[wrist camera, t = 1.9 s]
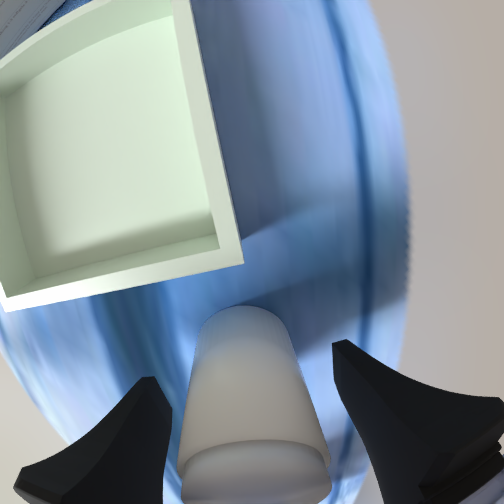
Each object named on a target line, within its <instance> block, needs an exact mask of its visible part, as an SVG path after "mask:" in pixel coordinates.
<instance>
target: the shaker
mask: <svg viewBox="0 0 504 504" xmlns="http://www.w3.org/2000/svg"><path fill="white" fill-rule="evenodd" d="M330 460H331V458H330V453H329V450H328V447H327V444H326V441H325V438H324V435H323V433H322V430H321V427H320V424H319V421H318V418H317V415H316V412H315V409H314V406H313V403H312V400H311V397H310V394H309V392H308V389H307V386H306V383H305V380H304V377H303V374H302V371H301V368H300V365H299V363H298V360H297V357H296V354H295V351H294V348H293V345H292V342H291V340H290V337H289V334H288V331H287V329H286V327H285V325H284V324H283V322H282V321H281V320H280V319H279V318H278V317H277V316H276V315H274V314H273V313H271V312H269V311H267V310H265V309H262V308H259V307H255V306H247V305H243V306H233V307H229V308H226V309H223V310H221V311H219V312H217V313H215V314H214V315H212V316H211V317H210V318H209V319H208V320H206V322H205V323H204V324H203V325H202V327H201V329H200V331H199V334H198V338H197V343H196V348H195V354H194V359H193V365H192V370H191V376H190V382H189V388H188V394H187V400H186V406H185V412H184V419H183V425H182V432H181V439H180V446H179V453H178V460H177V472H178V474H179V476H180V477H181V479H182V490H181V500H182V501H183V503H184V504H318V503H319V502H321V501H322V500H323V499H324V498H326V497H327V496H328V495H329V493H330V492H331V489H332V484H331V481H330V477H329V474H328V471H327V468H328V467H329V464H330Z"/></svg>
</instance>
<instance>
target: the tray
mask: <svg viewBox="0 0 504 504" xmlns="http://www.w3.org/2000/svg"><path fill="white" fill-rule="evenodd" d="M240 264H244V257H243V250H242V242H241V237H240V233H239V228H238V223H237V219H236V214H235V210H234V205H233V201H232V196H231V191H230V187H229V182H228V178H227V173H226V168H225V164H224V159H223V154H222V150H221V145H220V140H219V135H218V131H217V126H216V121H215V117H214V112H213V107H212V102H211V97H210V93H209V88H208V83H207V78H206V73H205V68H204V64H203V59H202V54H201V49H200V44H199V39H198V34H197V29H196V24H195V19H194V14H193V9H192V4H191V0H93V1H91V2H89V3H87V4H85V5H83V6H81V7H79V8H77V9H75V10H73V11H71V12H69V13H68V14H66V15H64V16H62V17H61V18H59V19H57V20H56V21H54V22H52V23H51V24H49V25H47V26H46V27H44V28H43V29H41V30H40V31H38V32H37V33H35V34H34V35H32V36H31V37H29V38H28V39H27V40H25V41H24V42H23V43H21V44H20V45H19V46H17V47H16V48H15V49H13V50H12V51H11V52H10V53H8V54H7V55H6V56H5V57H3V58H2V59H1V60H0V301H1V303H2V305H3V308H4V310H5V312H8V311H14V310H19V309H24V308H29V307H35V306H40V305H45V304H50V303H55V302H60V301H65V300H71V299H76V298H81V297H86V296H91V295H96V294H101V293H106V292H111V291H116V290H120V289H125V288H130V287H135V286H140V285H145V284H150V283H155V282H159V281H164V280H169V279H174V278H179V277H183V276H188V275H193V274H198V273H202V272H207V271H212V270H216V269H221V268H226V267H230V266H235V265H240Z"/></svg>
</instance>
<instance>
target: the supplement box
mask: <svg viewBox="0 0 504 504" xmlns="http://www.w3.org/2000/svg"><path fill="white" fill-rule="evenodd" d="M65 1H66V0H0V60H1V59H2V58H3V57H5V56H6V55H7V54H8V53H10V52H11V51H12V50H13V49H15V48H16V47H17V46H19V45H20V44H21V43H23V42H24V41H25V40H27V39H28V38H29V37H31V36H32V35H34V34H35V33H36V32H37V30H38V29H39V28H40V27H41V26H42V25H43V24H44V22H45V21H46V20H47V19H48V18H49V17H50V16H51V15H52V14H53V13H54V12H55V11H56V10H57V9H58V8H59V7H60V6H61V5H62V4H63V3H64V2H65Z"/></svg>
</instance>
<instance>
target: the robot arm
mask: <svg viewBox="0 0 504 504" xmlns="http://www.w3.org/2000/svg"><path fill="white" fill-rule="evenodd" d="M332 354H333V373H334V382H335V384H336V387H337V390H338V393H339V395H340V398H341V400H342V402H343V404H344V406H345V408H346V410H347V412H348V414H349V416H350V418H351V419H352V421H353V423H354V425H355V427H356V429H357V431H358V433H359V435H360V436H361V438H362V440H363V443H364V445H365V447H366V450H367V452H368V455H369V458H370V460H371V463H372V466H373V469H374V472H375V475H376V478H377V481H378V484H379V488H380V491H381V494H382V498H383V501H384V504H504V454H503V455H501V453H500V452H499V451H500V450H501V448H502V447H501V445H500V444H499V442H498V440H499V439H500V437H501V436H502V434H503V433H504V402H503V401H502V400H501V399H500V398H499V397H482V396H471V395H465V394H459V393H454V392H449V391H445V390H442V389H438V388H435V387H432V386H429V385H426V384H423V383H421V382H418V381H416V380H413V379H411V378H408V377H406V376H404V375H402V374H400V373H399V372H397V371H395V370H393V369H391V368H389V367H388V366H386V365H384V364H383V363H381V362H380V361H378V360H376V359H375V358H373V357H372V356H370V355H369V354H367V353H366V352H364V351H363V350H361V349H360V348H359V347H357V346H356V345H354V344H353V343H352V342H350V341H349V340H347V339H345V340H341V341H338V342H334V343H332ZM171 429H172V407H171V406H170V404H169V402H168V400H167V399H166V397H165V395H164V393H163V391H162V390H161V388H160V386H159V384H158V382H157V380H156V378H155V376H153V377H142V378H141V379H140V380H139V381H138V382H137V383H136V384H135V385H134V386H133V387H132V388H131V389H130V390H129V391H128V393H127V394H126V395H125V396H124V397H123V398H122V399H121V400H120V401H119V403H118V404H117V405H116V406H115V407H114V408H113V409H112V410H111V411H110V412H109V413H108V414H107V415H106V416H105V417H104V418H103V419H102V420H101V421H100V422H99V423H98V424H97V425H96V426H95V427H94V428H93V429H91V430H90V431H89V432H88V433H87V434H85V435H84V436H83V437H82V438H80V439H79V440H77V441H76V442H74V443H73V444H71V445H70V446H68V447H67V448H65V449H64V450H62V451H61V452H59V453H57V454H55V455H53V456H51V457H49V458H47V459H45V460H42V461H40V462H37V463H35V464H32V465H29V466H26V467H23V468H22V469H21V471H20V473H19V475H18V478H17V480H16V482H15V484H14V487H13V489H14V490H15V492H16V493H17V494H18V495H19V496H21V497H22V498H23V499H24V500H26V501H27V502H28V503H30V504H163V475H164V468H165V462H166V457H167V451H168V446H169V440H170V435H171Z"/></svg>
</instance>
